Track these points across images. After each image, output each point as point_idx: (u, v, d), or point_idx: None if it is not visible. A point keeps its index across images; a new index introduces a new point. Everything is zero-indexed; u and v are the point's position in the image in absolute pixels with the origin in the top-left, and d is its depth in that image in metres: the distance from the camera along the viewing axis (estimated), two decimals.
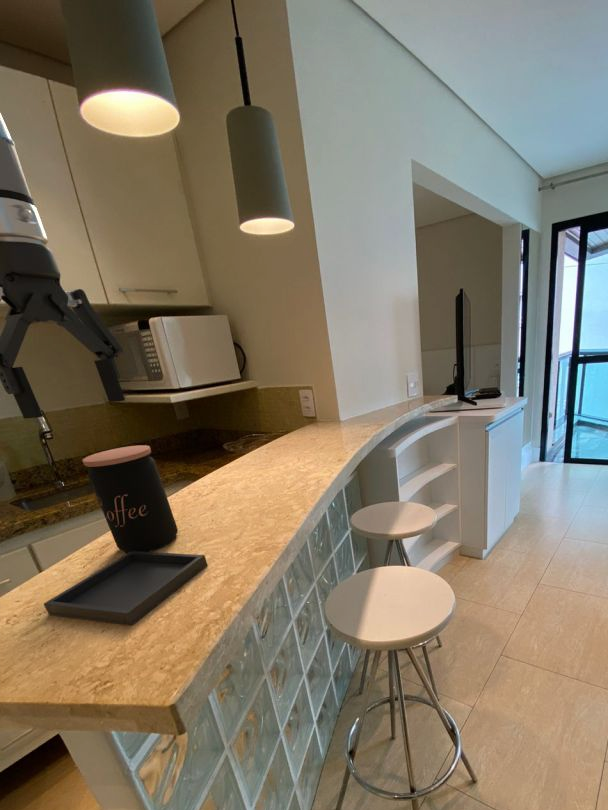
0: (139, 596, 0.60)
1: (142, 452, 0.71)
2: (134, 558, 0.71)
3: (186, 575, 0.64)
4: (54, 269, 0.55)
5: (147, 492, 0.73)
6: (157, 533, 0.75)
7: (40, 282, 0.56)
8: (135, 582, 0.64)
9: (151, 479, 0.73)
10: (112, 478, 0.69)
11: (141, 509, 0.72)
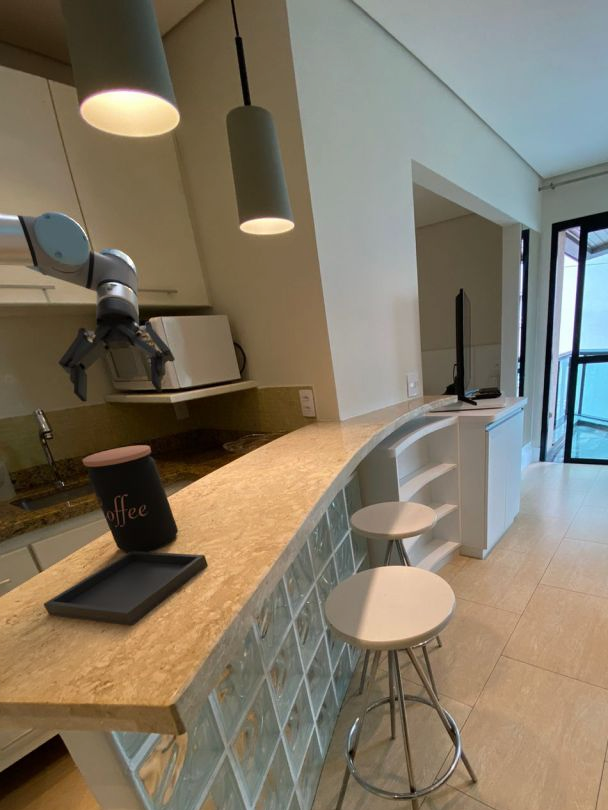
0: (139, 596, 0.60)
1: (142, 452, 0.71)
2: (134, 558, 0.71)
3: (186, 575, 0.64)
4: (116, 307, 0.82)
5: (147, 492, 0.73)
6: (157, 533, 0.75)
7: (118, 322, 0.84)
8: (135, 582, 0.64)
9: (151, 479, 0.73)
10: (112, 478, 0.69)
11: (141, 509, 0.72)
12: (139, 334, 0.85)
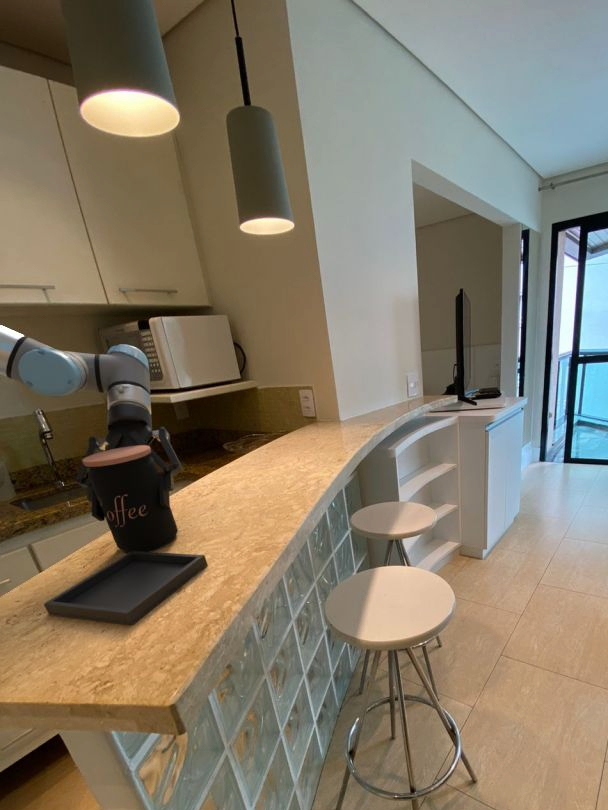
0: (139, 596, 0.60)
1: (142, 452, 0.71)
2: (134, 558, 0.71)
3: (186, 575, 0.64)
4: (128, 414, 0.78)
5: (147, 492, 0.73)
6: (157, 533, 0.75)
7: (130, 427, 0.79)
8: (135, 582, 0.64)
9: (151, 479, 0.73)
10: (112, 478, 0.69)
11: (141, 509, 0.72)
12: (152, 438, 0.81)
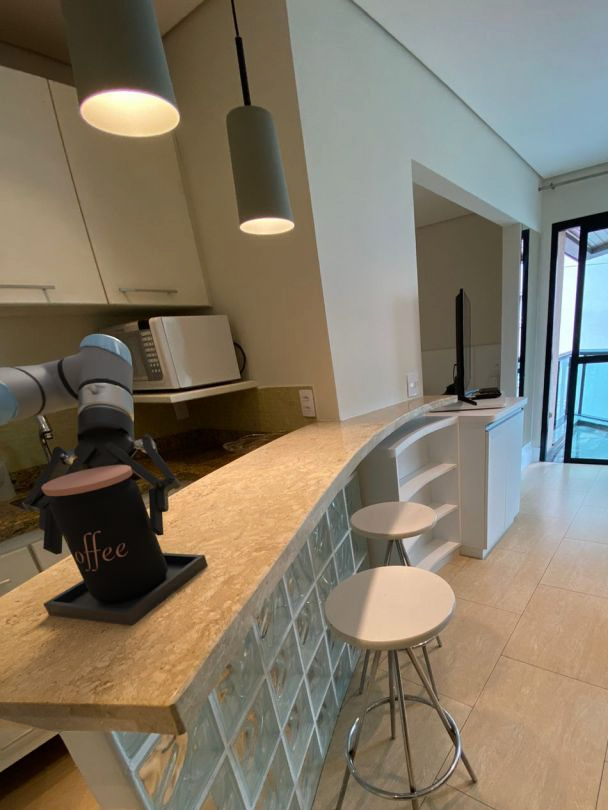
0: None
1: (120, 476, 0.55)
2: None
3: (186, 575, 0.64)
4: (103, 420, 0.61)
5: (127, 527, 0.57)
6: (141, 578, 0.59)
7: (106, 437, 0.63)
8: None
9: (132, 510, 0.57)
10: (80, 511, 0.53)
11: (119, 549, 0.56)
12: (134, 450, 0.64)
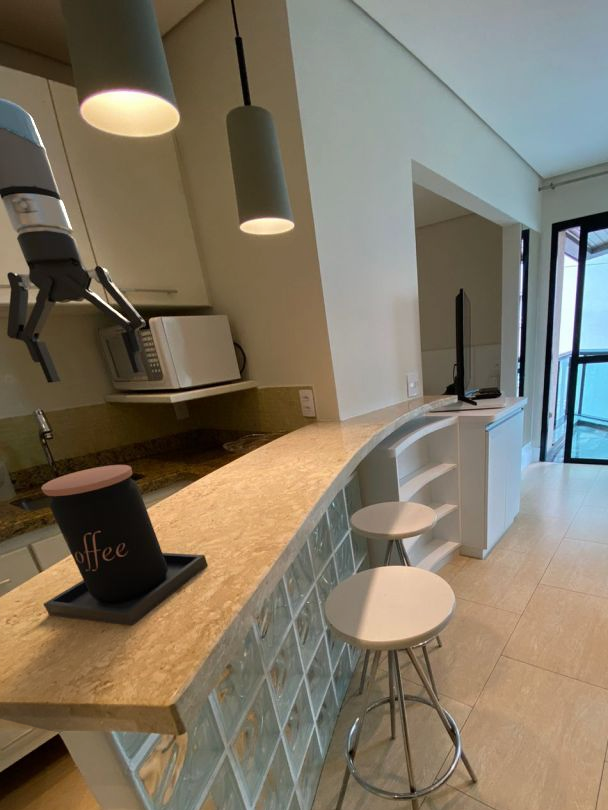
0: None
1: (120, 476, 0.55)
2: None
3: (186, 575, 0.64)
4: (51, 252, 0.62)
5: (127, 527, 0.57)
6: (141, 578, 0.59)
7: (58, 265, 0.64)
8: None
9: (132, 510, 0.57)
10: (80, 511, 0.53)
11: (119, 548, 0.56)
12: (89, 280, 0.67)
